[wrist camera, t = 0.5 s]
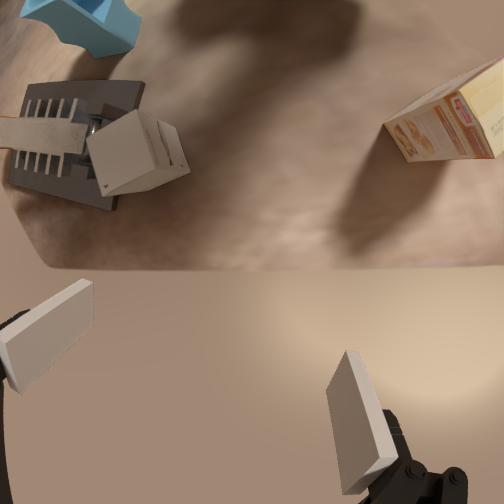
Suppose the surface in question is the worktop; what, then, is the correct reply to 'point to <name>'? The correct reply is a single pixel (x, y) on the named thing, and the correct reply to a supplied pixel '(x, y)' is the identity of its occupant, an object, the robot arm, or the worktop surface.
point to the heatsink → (74, 111)
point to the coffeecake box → (455, 118)
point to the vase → (88, 23)
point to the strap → (48, 135)
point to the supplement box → (136, 154)
